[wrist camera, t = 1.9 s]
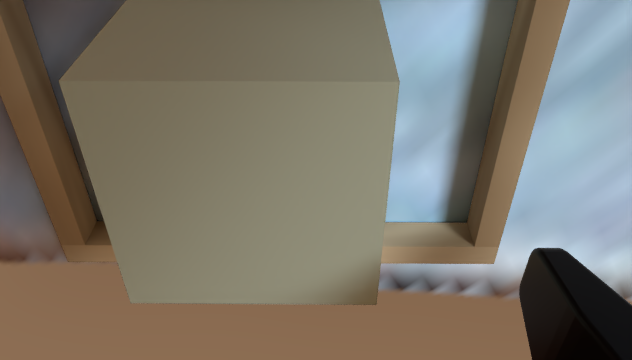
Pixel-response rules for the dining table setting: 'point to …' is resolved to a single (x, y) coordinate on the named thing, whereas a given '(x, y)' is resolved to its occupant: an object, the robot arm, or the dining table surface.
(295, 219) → the sage block
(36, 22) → the dining table surface
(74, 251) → the tan thin square frame
